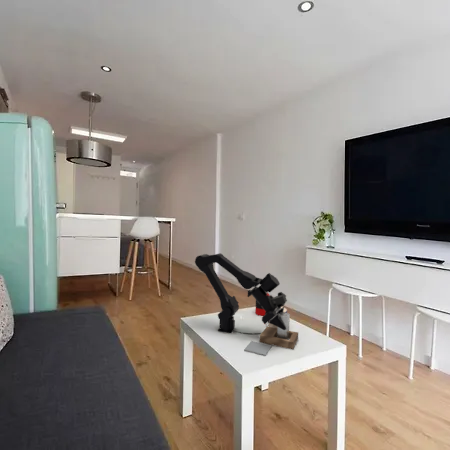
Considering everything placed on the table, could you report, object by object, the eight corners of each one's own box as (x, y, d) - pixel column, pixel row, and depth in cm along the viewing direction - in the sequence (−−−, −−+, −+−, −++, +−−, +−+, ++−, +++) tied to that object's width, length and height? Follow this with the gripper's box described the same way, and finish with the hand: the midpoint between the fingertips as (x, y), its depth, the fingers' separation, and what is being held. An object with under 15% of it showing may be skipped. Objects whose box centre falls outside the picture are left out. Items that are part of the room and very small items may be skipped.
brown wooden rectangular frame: (259, 342, 125) (259, 335, 125) (266, 332, 135) (267, 326, 135) (293, 349, 119) (293, 342, 119) (298, 339, 129) (298, 332, 128)
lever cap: (277, 342, 125) (278, 315, 124) (279, 338, 129) (280, 312, 129) (286, 344, 123) (287, 317, 122) (288, 340, 127) (289, 313, 127)
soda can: (252, 313, 160) (253, 292, 159) (260, 310, 165) (261, 289, 165) (263, 317, 155) (264, 295, 154) (271, 313, 160) (272, 292, 160)
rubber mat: (243, 350, 117) (244, 349, 117) (251, 341, 125) (251, 340, 125) (265, 356, 113) (265, 354, 113) (271, 346, 121) (271, 345, 121)
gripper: (270, 292, 118) (296, 324, 114) (281, 283, 135) (304, 310, 131) (251, 308, 122) (276, 339, 118) (264, 297, 139) (286, 323, 135)
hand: (286, 327), depth 125 cm, fingers closed on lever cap, 5 cm apart
